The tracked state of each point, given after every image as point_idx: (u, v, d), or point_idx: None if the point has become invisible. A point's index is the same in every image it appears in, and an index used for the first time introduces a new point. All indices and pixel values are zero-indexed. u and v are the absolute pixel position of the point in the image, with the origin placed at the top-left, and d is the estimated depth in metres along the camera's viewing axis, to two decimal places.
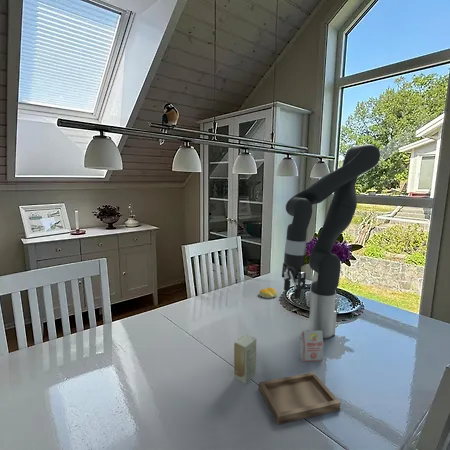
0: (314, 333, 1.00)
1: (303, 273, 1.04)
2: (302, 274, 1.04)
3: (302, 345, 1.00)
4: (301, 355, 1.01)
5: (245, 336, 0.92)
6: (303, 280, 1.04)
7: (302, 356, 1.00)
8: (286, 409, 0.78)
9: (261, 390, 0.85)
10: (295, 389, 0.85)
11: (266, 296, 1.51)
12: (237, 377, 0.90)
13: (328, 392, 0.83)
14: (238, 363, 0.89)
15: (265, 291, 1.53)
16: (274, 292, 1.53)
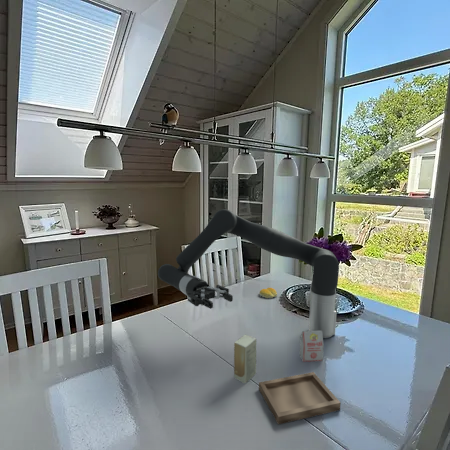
0: (314, 333, 1.00)
1: (188, 295, 1.00)
2: (188, 297, 1.00)
3: (302, 345, 1.00)
4: (301, 355, 1.01)
5: (245, 336, 0.92)
6: (191, 298, 0.98)
7: (302, 356, 1.00)
8: (286, 409, 0.78)
9: (261, 390, 0.85)
10: (295, 389, 0.85)
11: (266, 296, 1.51)
12: (237, 377, 0.90)
13: (328, 392, 0.83)
14: (238, 363, 0.89)
15: (265, 291, 1.53)
16: (274, 292, 1.53)
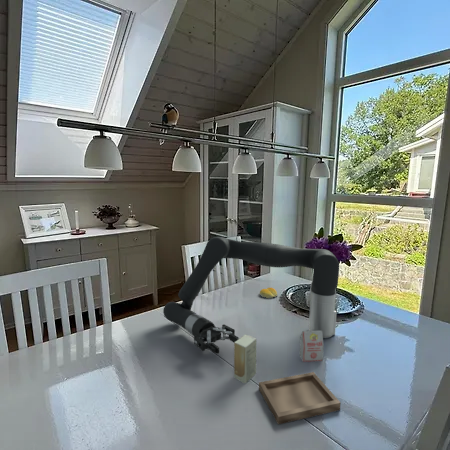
0: (314, 333, 1.00)
1: (194, 338, 1.01)
2: (194, 341, 1.00)
3: (302, 345, 1.00)
4: (301, 355, 1.01)
5: (245, 336, 0.92)
6: (197, 342, 0.99)
7: (302, 356, 1.00)
8: (286, 409, 0.78)
9: (261, 390, 0.85)
10: (295, 389, 0.85)
11: (266, 296, 1.51)
12: (237, 377, 0.90)
13: (328, 392, 0.83)
14: (238, 363, 0.89)
15: (265, 291, 1.53)
16: (274, 292, 1.53)
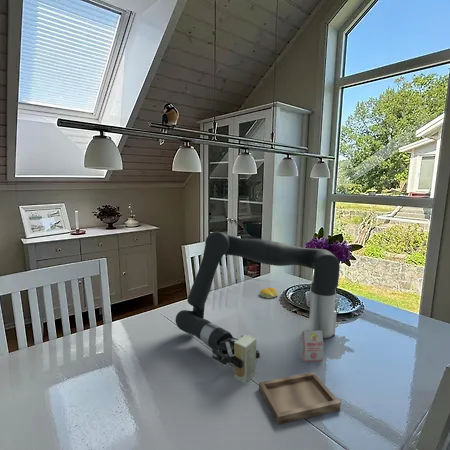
0: (314, 333, 1.00)
1: (212, 352, 0.93)
2: (213, 354, 0.93)
3: (302, 345, 1.00)
4: (301, 355, 1.01)
5: (245, 336, 0.92)
6: (217, 356, 0.91)
7: (302, 356, 1.00)
8: (286, 409, 0.78)
9: (261, 390, 0.85)
10: (295, 389, 0.85)
11: (267, 296, 1.51)
12: (237, 377, 0.90)
13: (328, 392, 0.83)
14: None
15: (266, 291, 1.53)
16: (275, 292, 1.53)
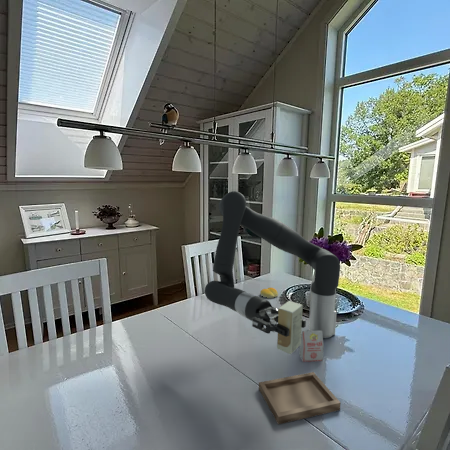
0: (314, 333, 1.00)
1: (252, 320, 0.83)
2: (253, 322, 0.83)
3: (302, 345, 1.00)
4: (301, 355, 1.01)
5: (289, 302, 0.82)
6: (259, 324, 0.81)
7: (302, 356, 1.00)
8: (286, 409, 0.78)
9: (261, 390, 0.85)
10: (295, 389, 0.85)
11: (267, 296, 1.51)
12: (281, 347, 0.81)
13: (328, 392, 0.83)
14: None
15: (266, 291, 1.53)
16: (275, 292, 1.53)
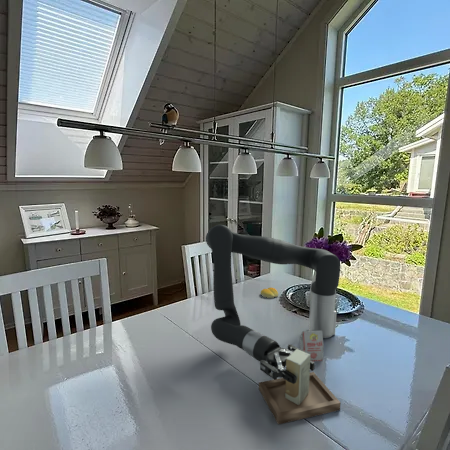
0: (314, 333, 1.00)
1: (260, 363, 0.83)
2: (261, 366, 0.83)
3: (302, 345, 1.00)
4: None
5: (297, 351, 0.83)
6: (266, 368, 0.81)
7: None
8: (286, 409, 0.78)
9: (261, 390, 0.85)
10: None
11: (267, 296, 1.51)
12: (289, 397, 0.81)
13: (328, 392, 0.83)
14: None
15: (266, 291, 1.53)
16: (275, 292, 1.53)
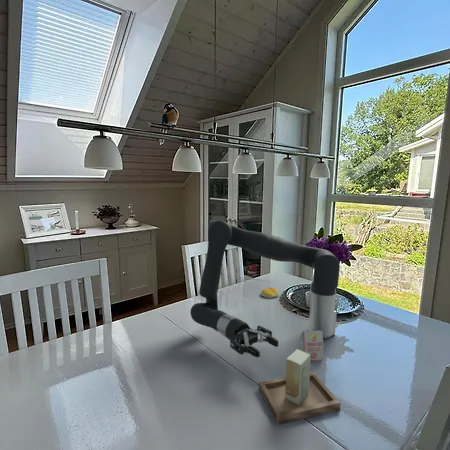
0: (314, 333, 1.00)
1: (230, 341, 0.93)
2: (230, 343, 0.93)
3: (302, 345, 1.00)
4: None
5: (297, 351, 0.83)
6: (234, 345, 0.91)
7: None
8: (286, 409, 0.78)
9: (261, 390, 0.85)
10: None
11: (268, 296, 1.51)
12: (289, 397, 0.81)
13: (328, 392, 0.83)
14: (291, 382, 0.80)
15: (267, 291, 1.53)
16: (276, 292, 1.53)
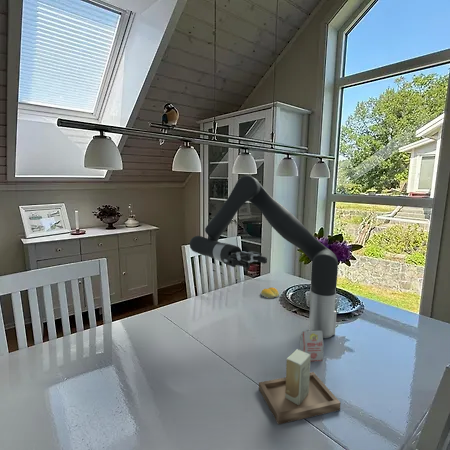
0: (314, 333, 1.00)
1: (224, 258, 1.05)
2: (224, 260, 1.05)
3: (302, 345, 1.00)
4: None
5: (297, 351, 0.83)
6: (228, 260, 1.03)
7: None
8: (286, 409, 0.78)
9: (261, 390, 0.85)
10: None
11: (268, 296, 1.51)
12: (289, 397, 0.81)
13: (328, 392, 0.83)
14: (291, 382, 0.80)
15: (267, 291, 1.53)
16: (276, 292, 1.53)
